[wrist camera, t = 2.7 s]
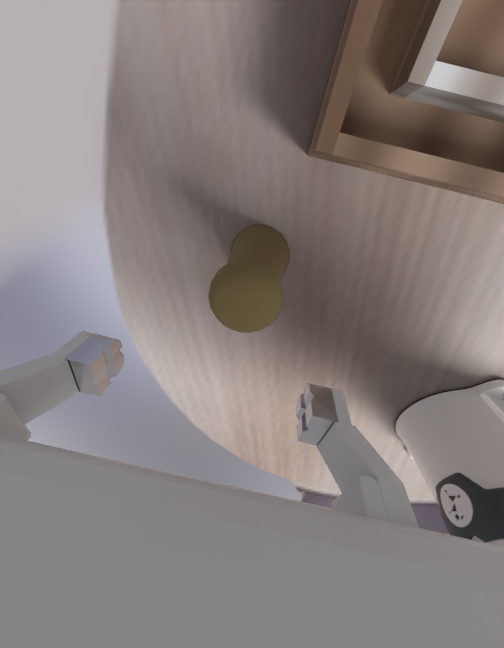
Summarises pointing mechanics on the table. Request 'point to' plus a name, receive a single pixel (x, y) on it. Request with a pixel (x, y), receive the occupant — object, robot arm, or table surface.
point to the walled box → (419, 94)
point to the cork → (251, 280)
